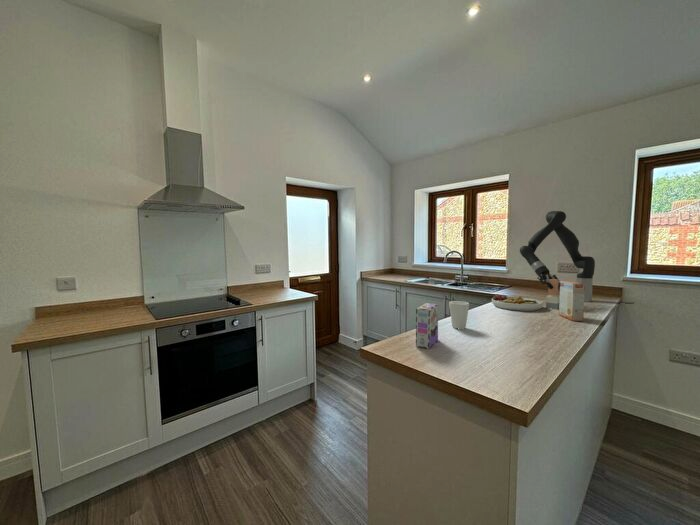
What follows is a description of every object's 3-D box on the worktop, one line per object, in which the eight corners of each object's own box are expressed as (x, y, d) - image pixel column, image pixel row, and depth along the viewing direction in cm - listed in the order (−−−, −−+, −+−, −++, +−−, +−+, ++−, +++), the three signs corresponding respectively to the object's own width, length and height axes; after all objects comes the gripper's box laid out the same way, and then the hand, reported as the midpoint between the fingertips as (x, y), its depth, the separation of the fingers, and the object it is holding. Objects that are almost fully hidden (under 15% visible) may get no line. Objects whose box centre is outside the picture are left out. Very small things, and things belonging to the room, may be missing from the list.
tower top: (549, 301, 195) (549, 295, 195) (559, 302, 191) (559, 296, 190) (546, 302, 191) (546, 296, 191) (557, 303, 187) (557, 297, 186)
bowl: (546, 306, 196) (546, 295, 196) (537, 314, 174) (537, 301, 174) (498, 301, 217) (499, 291, 216) (485, 308, 195) (485, 296, 194)
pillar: (550, 293, 194) (550, 279, 193) (558, 294, 190) (558, 279, 190) (548, 294, 191) (548, 279, 190) (556, 295, 187) (556, 280, 187)
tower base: (548, 306, 195) (548, 301, 195) (559, 308, 191) (559, 302, 191) (546, 308, 191) (546, 302, 191) (556, 309, 187) (556, 303, 187)
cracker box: (584, 321, 156) (585, 283, 155) (571, 321, 157) (572, 283, 156) (570, 315, 170) (571, 280, 169) (558, 315, 171) (559, 280, 170)
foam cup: (448, 329, 145) (448, 303, 144) (449, 324, 153) (449, 300, 153) (469, 331, 141) (469, 305, 140) (468, 326, 150) (469, 301, 149)
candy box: (429, 349, 117) (429, 309, 116) (415, 346, 120) (415, 307, 119) (438, 340, 128) (438, 303, 128) (425, 337, 132) (425, 302, 131)
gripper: (535, 265, 195) (551, 285, 184) (551, 265, 199) (568, 284, 188) (528, 272, 200) (543, 292, 189) (544, 272, 204) (560, 291, 193)
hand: (555, 288), depth 189 cm, fingers closed on pillar, 6 cm apart
